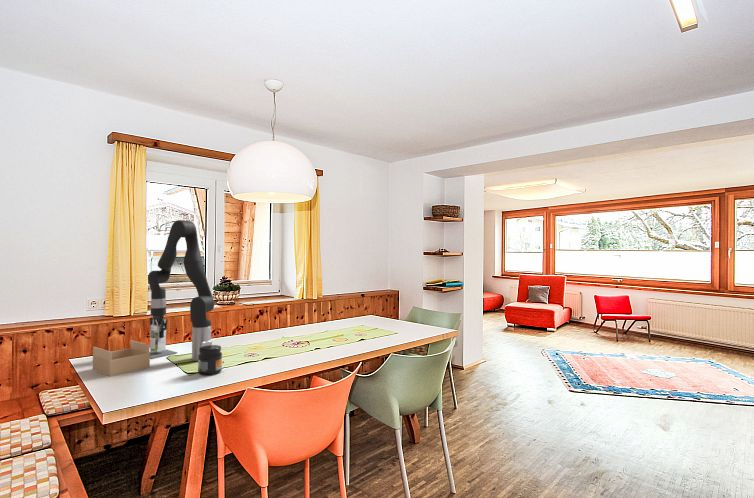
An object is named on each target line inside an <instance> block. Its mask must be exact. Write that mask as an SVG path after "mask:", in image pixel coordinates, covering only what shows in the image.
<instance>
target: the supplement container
mask: <svg viewBox="0 0 754 498" xmlns="http://www.w3.org/2000/svg"><path fill="white" fill-rule="evenodd" d="M222 364H223V353H222V346H221V345H218V344H212V345H207V346H202V347H200V348H199V355H198V361H197V373H198V375H200V376H213V375H217V374H220V373H221V372H222V370H223V365H222Z"/></svg>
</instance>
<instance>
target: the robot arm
mask: <svg viewBox="0 0 754 498" xmlns="http://www.w3.org/2000/svg"><path fill="white" fill-rule="evenodd" d="M181 238H184V239H185V243H186V250H185V253H184V258H183V266H184V270H185V274H186V277H188V279H189V280H190V282H191V283H192V284H193V285H194V287H195V289H196V292H197V296H196V297H193V298H192V299H191V301H190V305H189V308H190V309H189V312H190V313H189V316H190V322H191V360H192V361H195V362H196V361H197V362H198V355H199V348H200V347H202V346H207V345H213V341H212V320H210V319H209V318H208V317H207V313H210V312H212V311H213V310H214V308H215V300H214V297H213V294H212V291H211V288H210V286H209V282H208V278H207V275H206V271H205V266H204V262H203V259H202V255H201V250H200V246H199V239H198V231H197V227H196V224H195V223H194V222H193V221H191V220H183V219H182V220H181V219H177V220H175V221H173V223H172V225H171V227H170V230H169V233H168V236H167V240H166V243H165V247H164V250H163V252H162V254H161V256H160V258H159V260H158V262H157V267H158V268H159V269H160V270H151V271H150V272H149V273H148V275H147V282H148V285H149V288H150V292H151V293H150V298H151V299H150V316H151V317H149V329H151V325H154V324H155V325H157V326H158V327H159V338H163V337H164V330H166V331H167V326H168V319H167V318H165V317H164V316H166V315H167V299H166V297H167V296H166V295H167V294H166V293H167V291H166V288H164V287H163V286H162V287H161V286H160V284H163V283H167V282H168V281H169V279H170V277H171V272H172V267H173V265H174V263H175V261H176V259H177V254H178V253H177V252H178V251H177V245H178V244H179V243H178V242H179V241H180V239H181ZM164 326H165V328H164Z"/></svg>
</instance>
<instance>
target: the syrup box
mask: <svg viewBox="0 0 754 498" xmlns="http://www.w3.org/2000/svg"><path fill="white" fill-rule="evenodd" d="M164 328H165V326H164ZM149 338H150V339H149V340H150V341H149V342H150V343H149V345H150V348H149V352H150V351H152V352H160V351H164V350H167V347H166V346H167V343H166V342H167V329H166V330H164V337H163V338H159V327H158V326H157V325H155V324H154V325H151V328H150V337H149Z"/></svg>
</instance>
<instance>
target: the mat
mask: <svg viewBox="0 0 754 498" xmlns="http://www.w3.org/2000/svg"><path fill="white" fill-rule="evenodd" d="M149 353H150V360H151V359H152V360H153V359H157V358H162V357H167V356H172V355H176V353H177V354H178V351H173V350H169V349H166V350H164V351H160V352H152V351H150V350H149ZM171 354H172V355H171Z"/></svg>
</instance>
